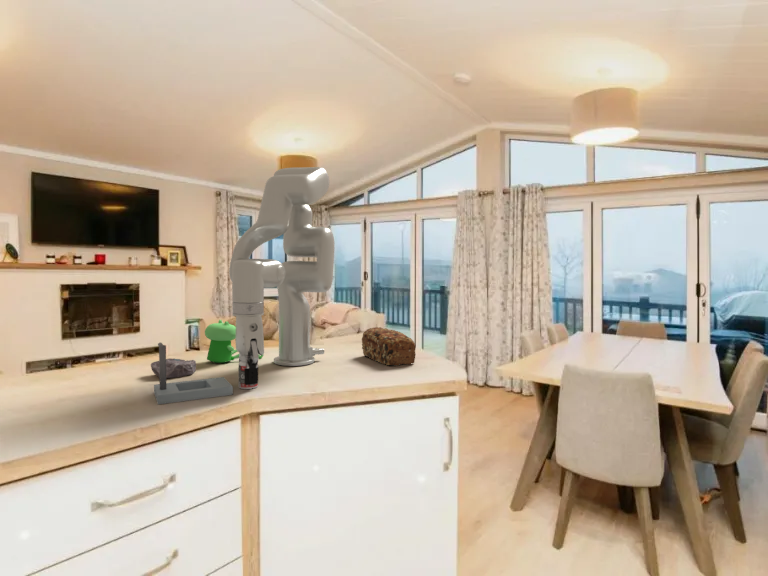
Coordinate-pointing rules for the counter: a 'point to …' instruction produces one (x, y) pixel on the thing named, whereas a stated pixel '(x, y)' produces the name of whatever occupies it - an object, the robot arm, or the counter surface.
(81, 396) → the counter surface
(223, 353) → the toy character
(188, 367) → the rock
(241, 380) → the pill bottle
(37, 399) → the counter surface
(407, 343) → the bread
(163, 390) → the gray slotted post stand
